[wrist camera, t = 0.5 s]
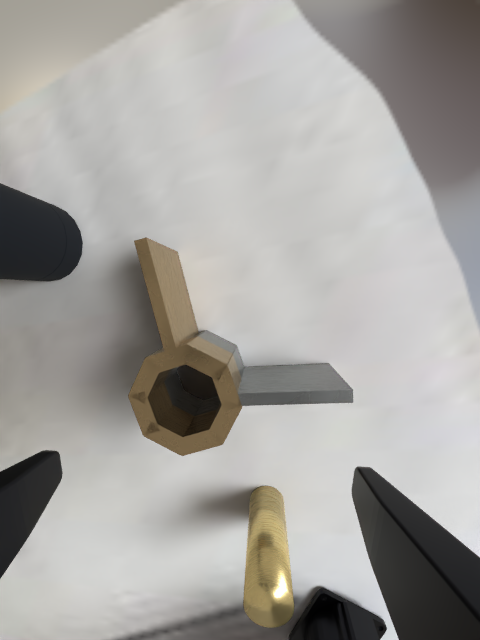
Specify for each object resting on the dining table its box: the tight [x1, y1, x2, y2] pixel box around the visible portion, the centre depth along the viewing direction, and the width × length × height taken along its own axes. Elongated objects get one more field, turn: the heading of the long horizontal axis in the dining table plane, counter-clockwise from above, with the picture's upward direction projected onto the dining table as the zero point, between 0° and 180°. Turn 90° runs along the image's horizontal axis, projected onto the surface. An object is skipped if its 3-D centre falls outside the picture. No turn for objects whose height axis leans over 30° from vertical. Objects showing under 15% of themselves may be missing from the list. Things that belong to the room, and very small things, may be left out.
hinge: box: [128, 238, 353, 456], centre depth 20 cm, size 12×16×6 cm
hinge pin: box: [243, 486, 294, 628], centre depth 20 cm, size 3×3×8 cm
